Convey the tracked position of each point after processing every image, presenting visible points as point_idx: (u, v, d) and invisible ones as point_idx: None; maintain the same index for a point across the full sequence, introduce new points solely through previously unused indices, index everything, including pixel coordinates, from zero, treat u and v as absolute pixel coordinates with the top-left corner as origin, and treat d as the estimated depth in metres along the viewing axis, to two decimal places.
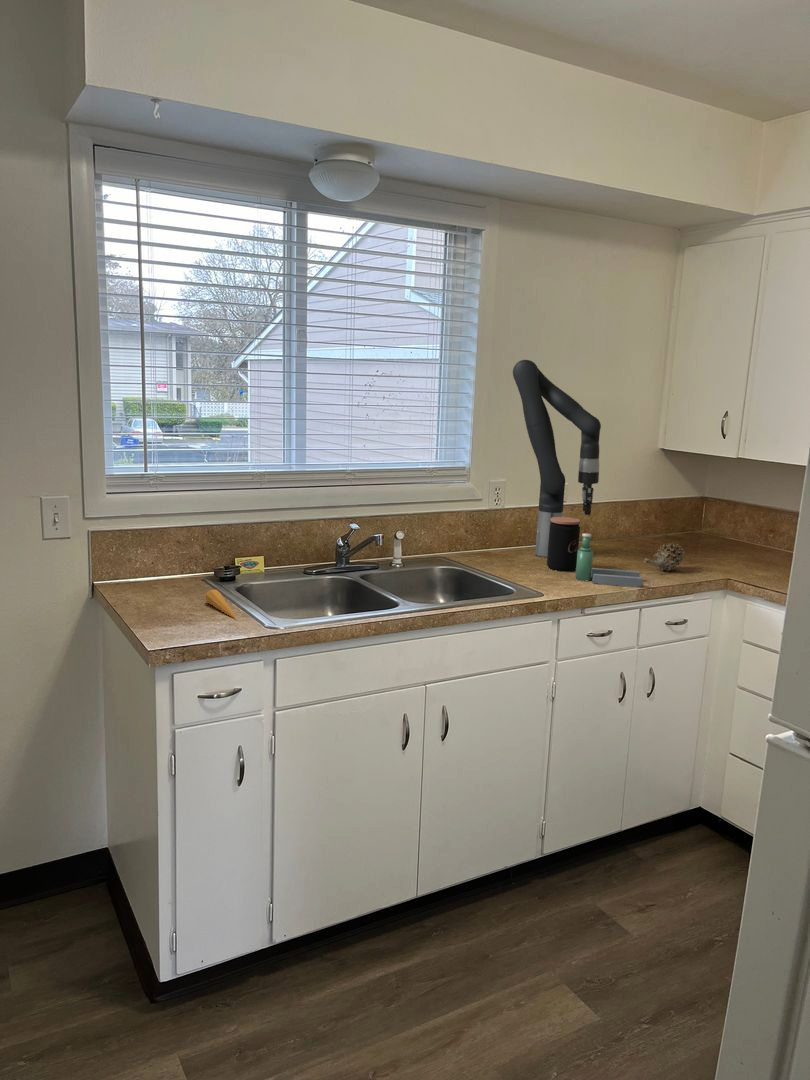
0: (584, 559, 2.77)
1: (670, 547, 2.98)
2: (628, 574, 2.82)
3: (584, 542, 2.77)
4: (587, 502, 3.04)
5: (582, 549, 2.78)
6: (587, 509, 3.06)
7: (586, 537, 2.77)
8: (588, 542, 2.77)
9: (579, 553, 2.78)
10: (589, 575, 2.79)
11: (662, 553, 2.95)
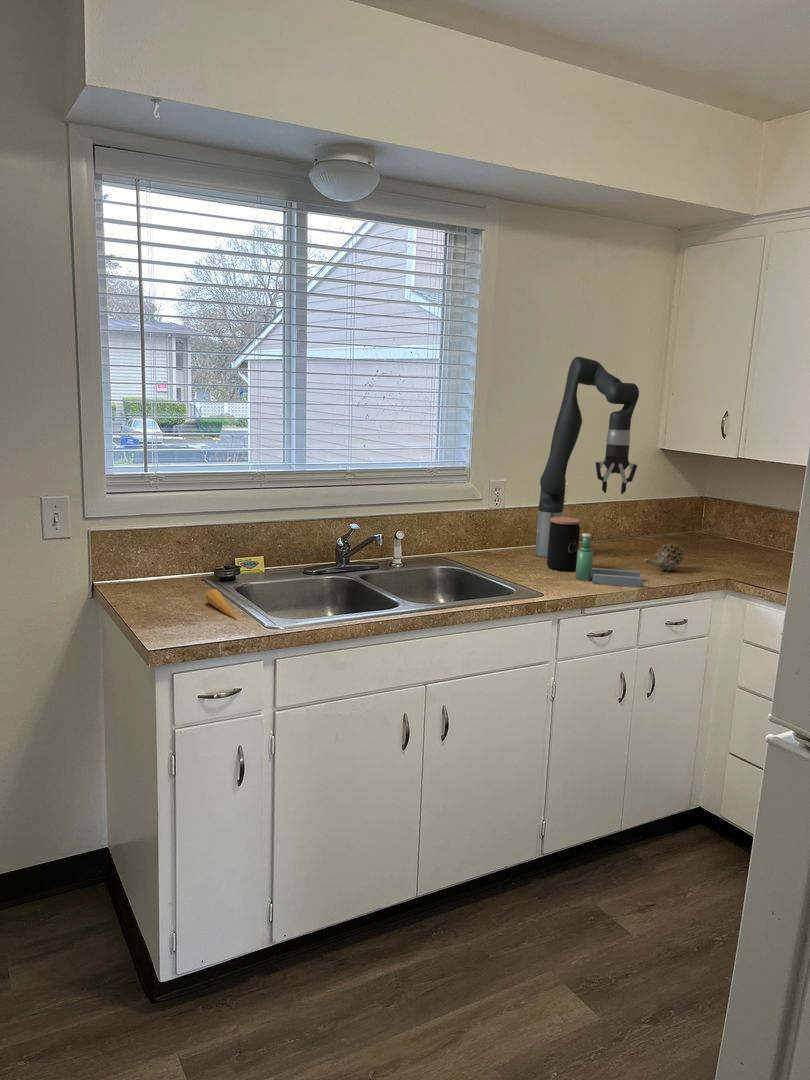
0: (584, 559, 2.77)
1: (670, 547, 2.98)
2: (628, 574, 2.82)
3: (584, 542, 2.77)
4: None
5: (582, 549, 2.78)
6: (625, 487, 2.79)
7: (586, 537, 2.77)
8: (588, 542, 2.77)
9: (579, 553, 2.78)
10: (589, 575, 2.79)
11: (662, 553, 2.95)
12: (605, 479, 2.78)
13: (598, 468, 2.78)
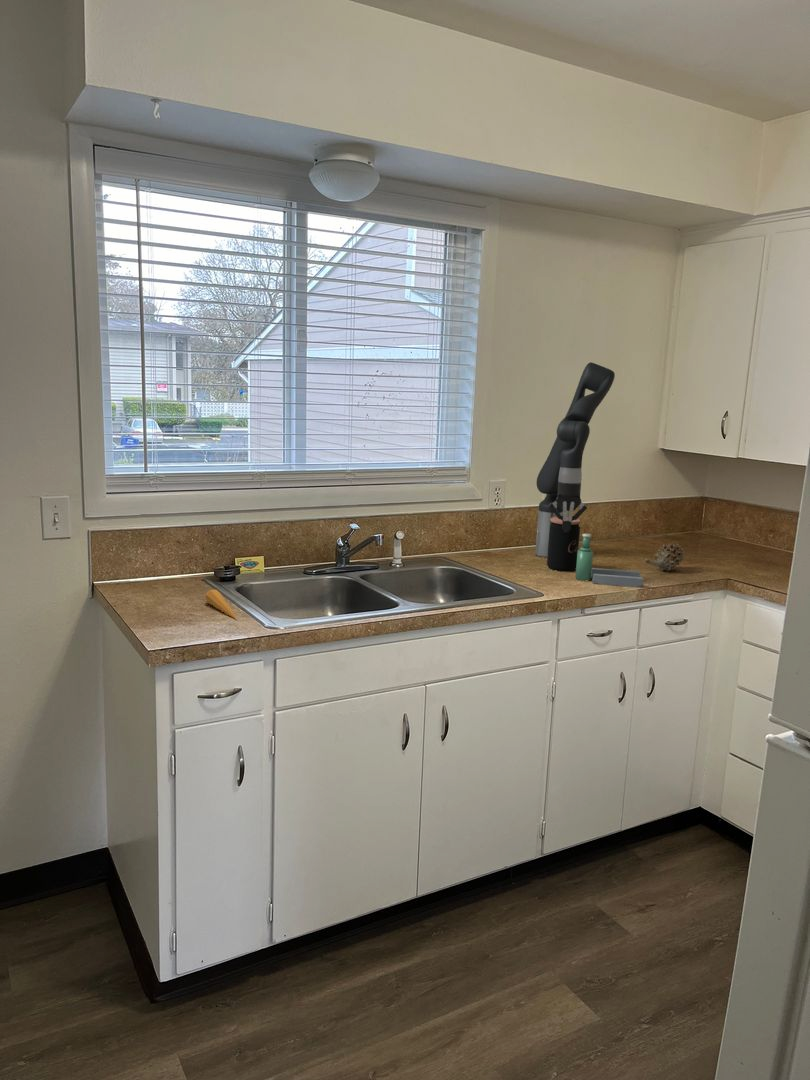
0: (584, 559, 2.77)
1: (670, 547, 2.98)
2: (628, 574, 2.82)
3: (584, 542, 2.77)
4: None
5: (582, 549, 2.78)
6: (570, 525, 2.78)
7: (586, 537, 2.77)
8: (588, 542, 2.77)
9: (579, 553, 2.78)
10: (589, 575, 2.79)
11: (662, 553, 2.95)
12: (565, 518, 2.77)
13: (554, 509, 2.77)
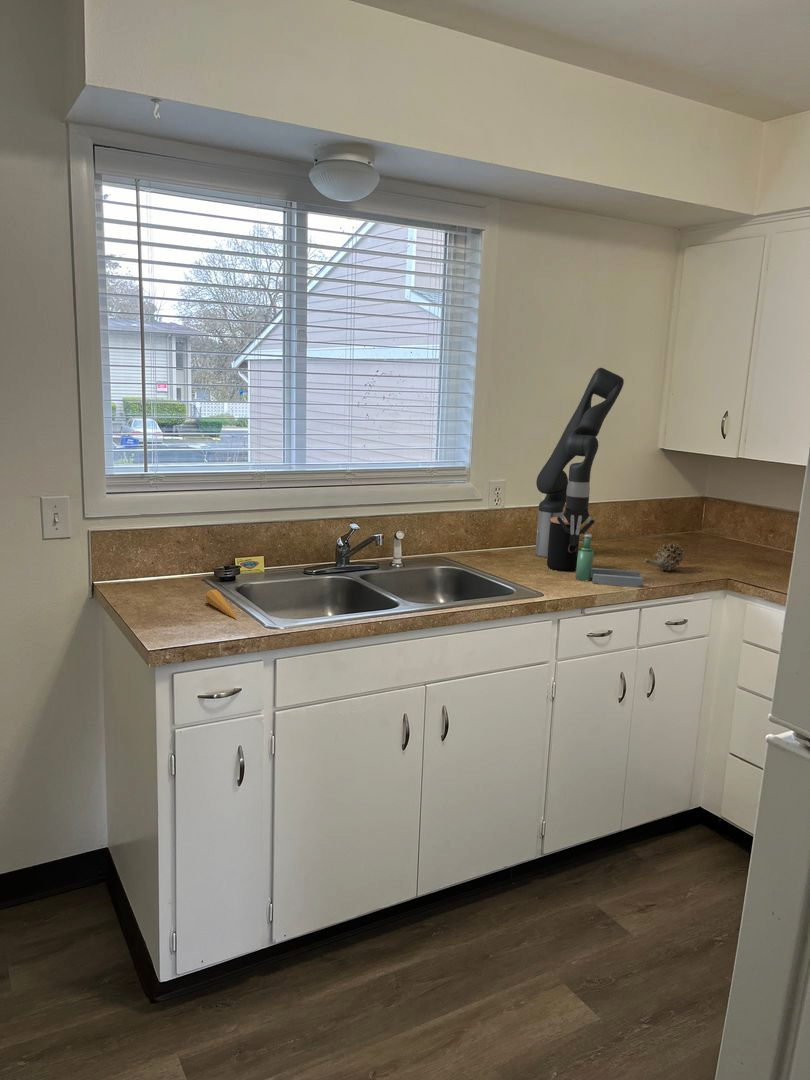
0: (585, 559, 2.77)
1: (670, 547, 2.98)
2: (628, 574, 2.82)
3: (585, 542, 2.77)
4: None
5: (583, 549, 2.78)
6: None
7: (587, 537, 2.77)
8: (589, 542, 2.77)
9: (579, 553, 2.78)
10: (589, 575, 2.79)
11: (662, 553, 2.95)
12: (572, 532, 2.77)
13: (561, 522, 2.77)
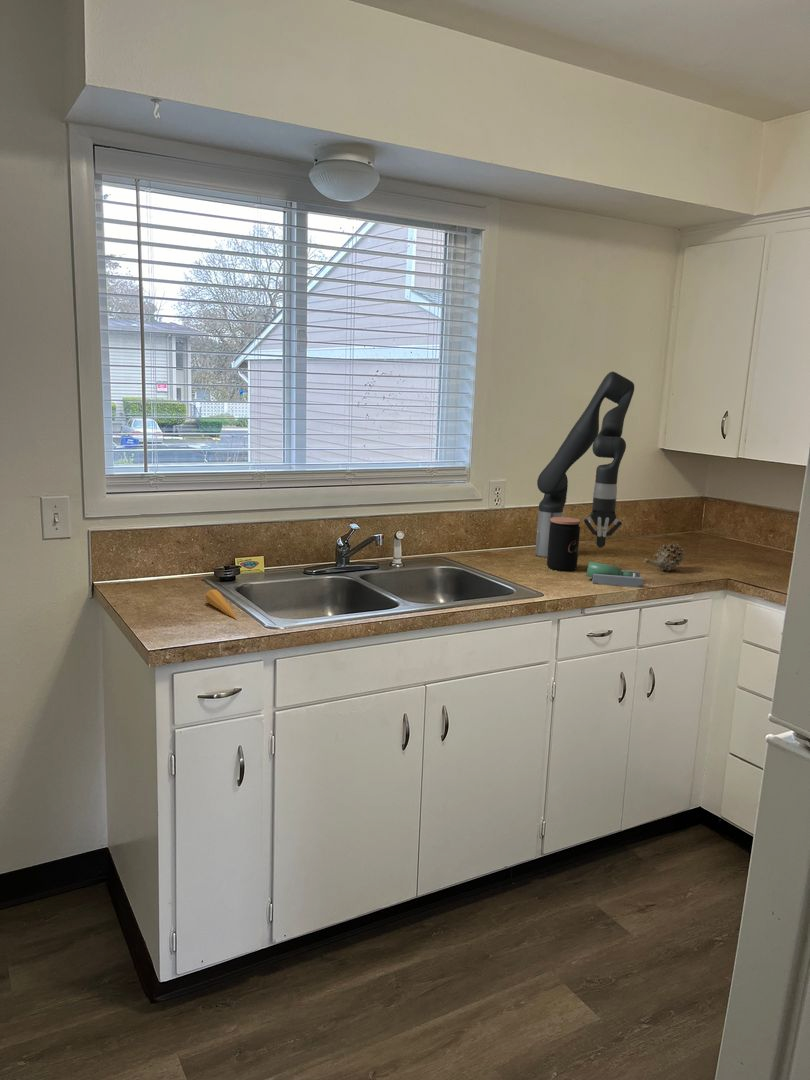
0: (610, 574, 2.76)
1: (670, 547, 2.98)
2: None
3: (627, 575, 2.77)
4: None
5: (620, 572, 2.77)
6: None
7: None
8: None
9: (616, 568, 2.77)
10: (592, 576, 2.79)
11: (662, 553, 2.95)
12: (599, 534, 2.76)
13: (588, 524, 2.76)
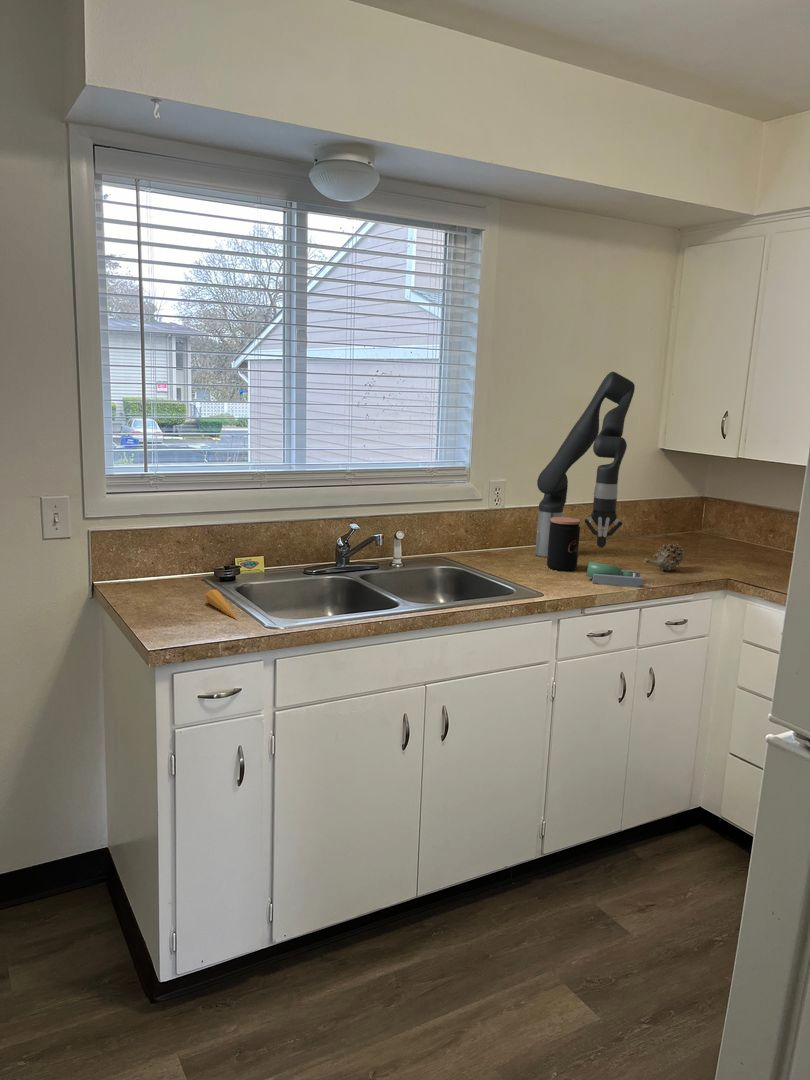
0: (610, 574, 2.76)
1: (670, 547, 2.98)
2: None
3: (627, 575, 2.77)
4: None
5: (620, 572, 2.77)
6: (605, 541, 2.77)
7: None
8: None
9: (616, 568, 2.77)
10: (592, 576, 2.79)
11: (662, 553, 2.95)
12: (600, 534, 2.76)
13: (589, 524, 2.76)
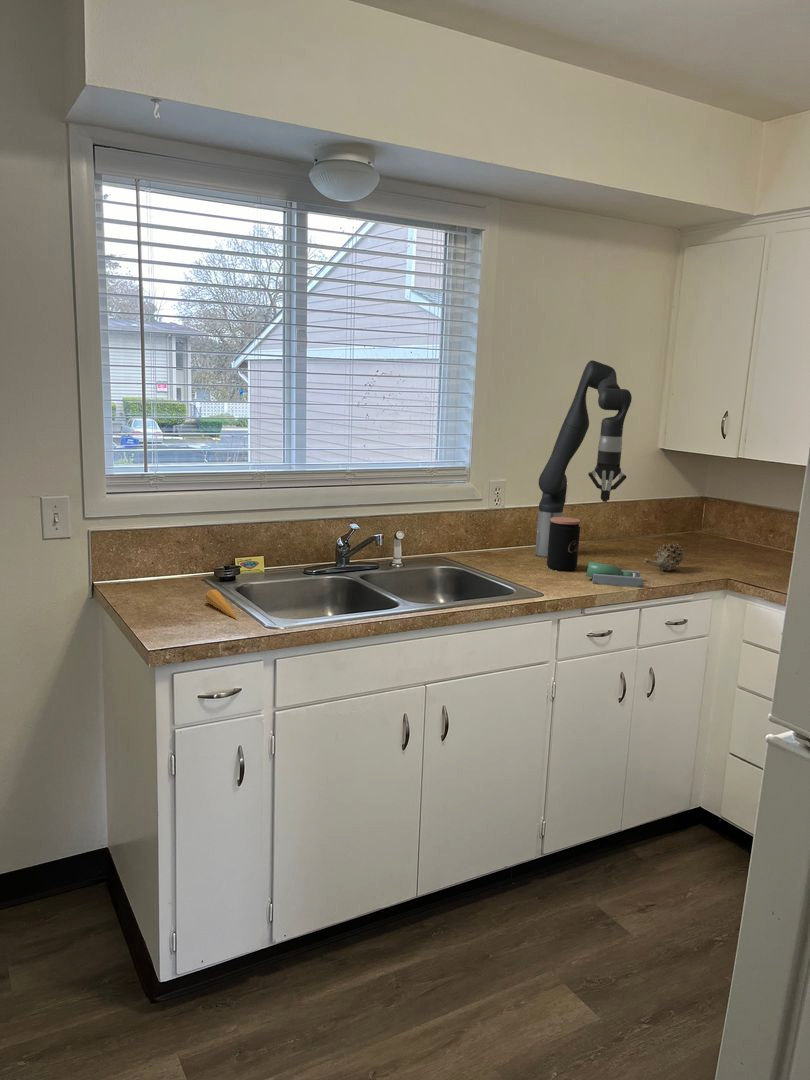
0: (610, 574, 2.76)
1: (670, 547, 2.98)
2: None
3: (627, 575, 2.77)
4: None
5: (620, 572, 2.77)
6: (609, 495, 2.75)
7: None
8: None
9: (616, 568, 2.77)
10: (592, 576, 2.79)
11: (662, 553, 2.95)
12: (604, 488, 2.74)
13: (593, 478, 2.74)
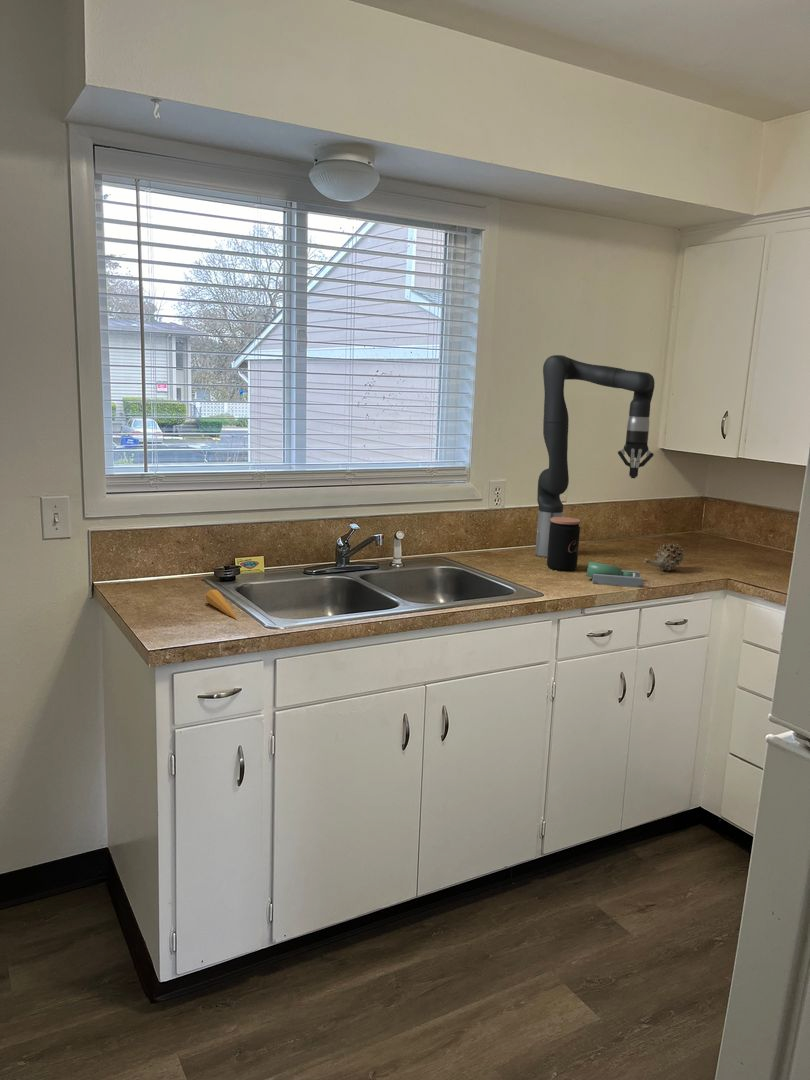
0: (610, 574, 2.76)
1: (670, 547, 2.98)
2: None
3: (627, 575, 2.77)
4: None
5: (620, 572, 2.77)
6: (637, 472, 2.94)
7: None
8: None
9: (616, 568, 2.77)
10: (592, 576, 2.79)
11: (662, 553, 2.95)
12: (632, 465, 2.93)
13: (622, 456, 2.93)
